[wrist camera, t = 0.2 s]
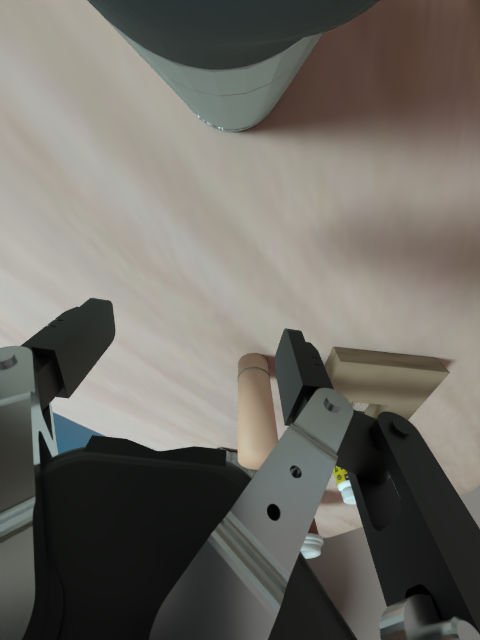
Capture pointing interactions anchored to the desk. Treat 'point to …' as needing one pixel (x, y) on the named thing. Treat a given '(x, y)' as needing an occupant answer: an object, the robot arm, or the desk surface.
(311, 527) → the coffee cup
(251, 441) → the dowel
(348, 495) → the supplement bottle
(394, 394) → the seat board
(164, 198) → the desk surface
